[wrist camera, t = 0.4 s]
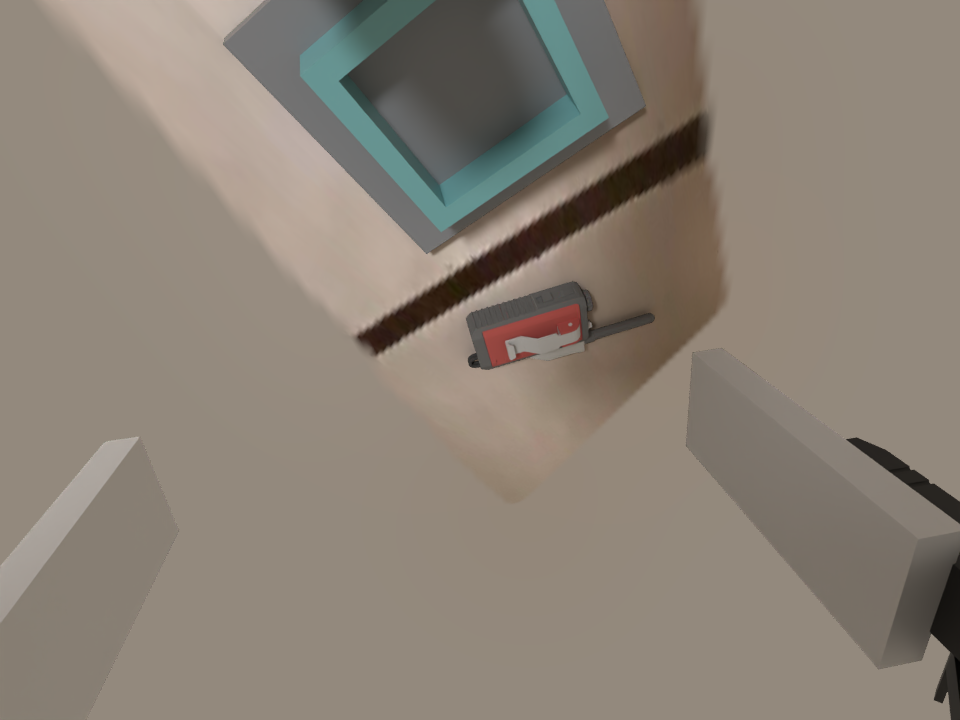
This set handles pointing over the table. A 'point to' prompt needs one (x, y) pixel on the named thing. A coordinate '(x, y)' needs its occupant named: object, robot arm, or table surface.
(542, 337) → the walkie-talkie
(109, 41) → the table surface
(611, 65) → the mug dock
